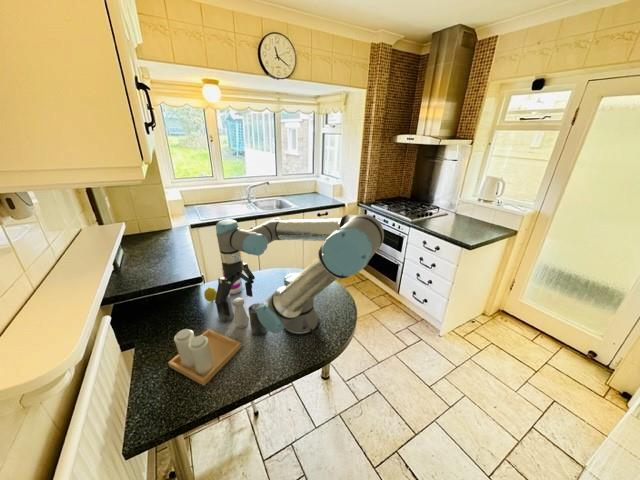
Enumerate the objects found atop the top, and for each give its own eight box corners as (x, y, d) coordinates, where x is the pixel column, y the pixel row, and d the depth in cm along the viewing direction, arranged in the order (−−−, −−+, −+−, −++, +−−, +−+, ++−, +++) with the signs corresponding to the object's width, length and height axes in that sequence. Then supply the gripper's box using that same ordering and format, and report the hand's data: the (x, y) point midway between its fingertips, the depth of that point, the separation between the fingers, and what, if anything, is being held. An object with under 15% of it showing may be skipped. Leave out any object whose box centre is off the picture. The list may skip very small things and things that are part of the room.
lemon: (210, 306, 121) (207, 292, 118) (203, 302, 124) (200, 288, 120) (220, 300, 125) (217, 286, 122) (213, 296, 128) (210, 283, 125)
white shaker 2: (218, 364, 91) (211, 337, 86) (204, 378, 86) (196, 350, 81) (205, 358, 93) (198, 331, 88) (191, 371, 88) (183, 343, 83)
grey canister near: (269, 328, 108) (266, 305, 103) (260, 338, 103) (257, 314, 98) (257, 324, 110) (255, 301, 105) (248, 333, 105) (245, 310, 100)
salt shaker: (252, 322, 111) (248, 297, 106) (243, 330, 107) (239, 305, 101) (241, 318, 114) (237, 294, 108) (232, 326, 109) (227, 301, 104)
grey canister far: (236, 316, 115) (232, 294, 110) (226, 324, 110) (222, 302, 105) (226, 312, 117) (222, 290, 112) (216, 320, 112) (211, 298, 108)
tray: (241, 347, 99) (240, 342, 98) (204, 387, 84) (202, 381, 83) (209, 333, 105) (208, 328, 104) (169, 367, 90) (167, 362, 89)
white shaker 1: (203, 357, 94) (196, 330, 88) (189, 370, 89) (181, 342, 83) (192, 352, 96) (184, 325, 91) (178, 364, 91) (169, 336, 86)
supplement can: (237, 295, 129) (233, 269, 123) (222, 293, 130) (218, 268, 124) (245, 286, 136) (241, 261, 130) (231, 284, 138) (226, 260, 131)
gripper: (246, 245, 109) (251, 286, 118) (197, 273, 88) (208, 320, 97) (260, 248, 106) (264, 291, 115) (213, 278, 85) (223, 327, 94)
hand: (238, 304), depth 106 cm, fingers open, 13 cm apart
